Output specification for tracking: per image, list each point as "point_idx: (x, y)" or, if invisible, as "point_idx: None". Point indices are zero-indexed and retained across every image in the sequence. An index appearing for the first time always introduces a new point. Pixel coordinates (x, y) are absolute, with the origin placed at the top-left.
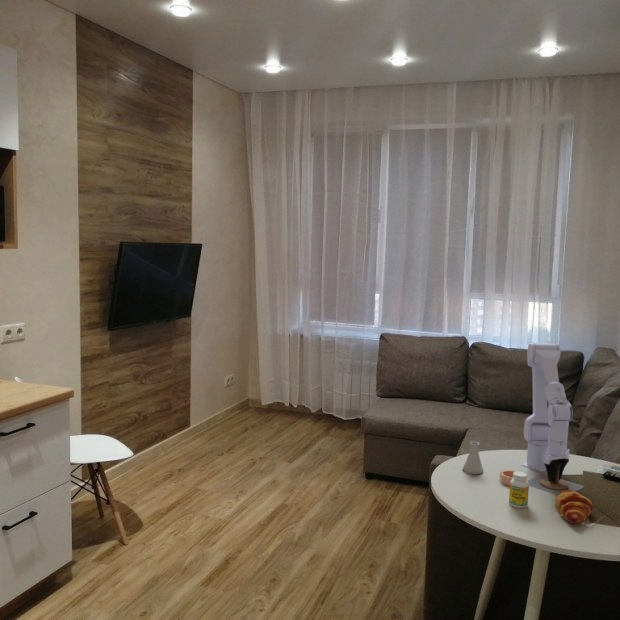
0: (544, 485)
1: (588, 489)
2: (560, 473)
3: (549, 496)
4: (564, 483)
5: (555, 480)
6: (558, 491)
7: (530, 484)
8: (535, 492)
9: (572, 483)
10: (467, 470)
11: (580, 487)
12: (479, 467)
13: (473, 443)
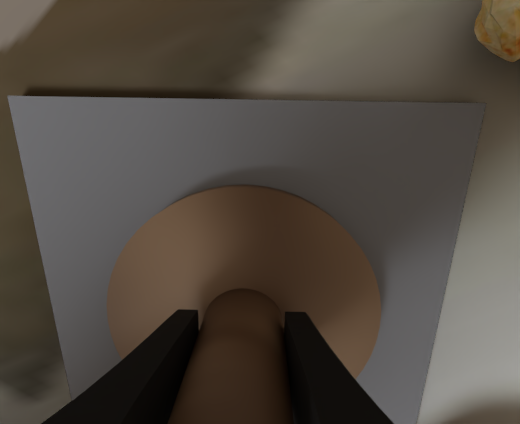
0: (366, 347)
1: (28, 46)
2: (163, 371)
3: (515, 227)
4: (180, 250)
5: (311, 323)
6: (375, 216)
7: (393, 418)
8: (501, 334)
9: (60, 216)
10: None
11: (83, 113)
12: None
13: None
